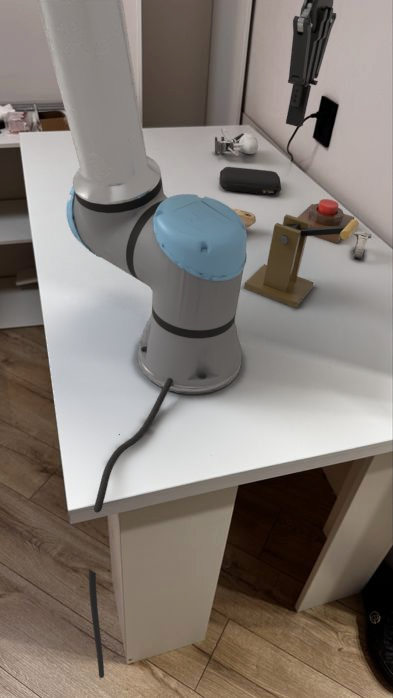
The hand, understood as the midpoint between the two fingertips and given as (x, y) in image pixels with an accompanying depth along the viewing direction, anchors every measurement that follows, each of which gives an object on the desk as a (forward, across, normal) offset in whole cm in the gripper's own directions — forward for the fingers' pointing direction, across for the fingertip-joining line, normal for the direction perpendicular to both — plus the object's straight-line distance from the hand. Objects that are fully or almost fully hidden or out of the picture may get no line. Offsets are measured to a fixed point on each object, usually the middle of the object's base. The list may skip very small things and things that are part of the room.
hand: (294, 124), depth 94 cm
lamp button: (+19, +13, -6) cm, 24 cm away
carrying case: (+23, +21, +16) cm, 35 cm away
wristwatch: (+23, +7, -16) cm, 29 cm away
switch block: (+23, +14, -6) cm, 27 cm away
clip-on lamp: (+23, +40, +30) cm, 55 cm away
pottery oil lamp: (+24, -3, +10) cm, 26 cm away
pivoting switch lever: (+12, -15, -13) cm, 23 cm away
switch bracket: (+24, -14, -8) cm, 29 cm away
